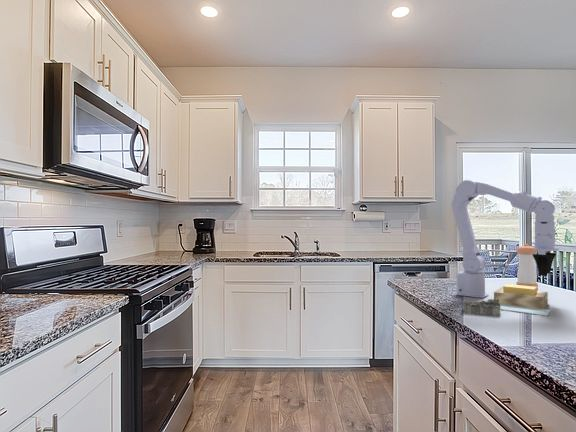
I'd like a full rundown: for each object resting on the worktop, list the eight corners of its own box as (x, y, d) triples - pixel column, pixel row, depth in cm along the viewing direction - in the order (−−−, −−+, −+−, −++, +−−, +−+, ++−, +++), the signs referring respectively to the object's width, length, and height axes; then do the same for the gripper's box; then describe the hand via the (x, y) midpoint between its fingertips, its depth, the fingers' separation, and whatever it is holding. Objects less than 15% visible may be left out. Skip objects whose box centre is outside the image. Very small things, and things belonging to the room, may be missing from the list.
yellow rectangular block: (503, 292, 127) (503, 286, 127) (506, 289, 132) (506, 284, 132) (534, 295, 121) (534, 289, 121) (537, 292, 126) (537, 286, 126)
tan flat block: (494, 303, 127) (493, 292, 127) (501, 298, 136) (501, 287, 136) (543, 309, 118) (542, 297, 118) (547, 303, 127) (547, 291, 127)
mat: (481, 307, 122) (481, 306, 122) (487, 302, 129) (487, 302, 129) (547, 316, 110) (547, 315, 110) (550, 310, 117) (550, 309, 117)
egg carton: (500, 312, 117) (500, 299, 117) (500, 317, 111) (500, 303, 111) (463, 308, 123) (463, 295, 123) (461, 312, 116) (461, 299, 116)
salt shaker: (542, 293, 145) (541, 244, 146) (523, 293, 145) (522, 244, 146) (530, 289, 152) (529, 243, 153) (512, 289, 153) (511, 243, 153)
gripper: (556, 236, 120) (556, 277, 120) (561, 234, 131) (561, 273, 130) (530, 235, 124) (530, 275, 124) (537, 234, 135) (537, 271, 135)
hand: (544, 274), depth 128 cm, fingers open, 7 cm apart
